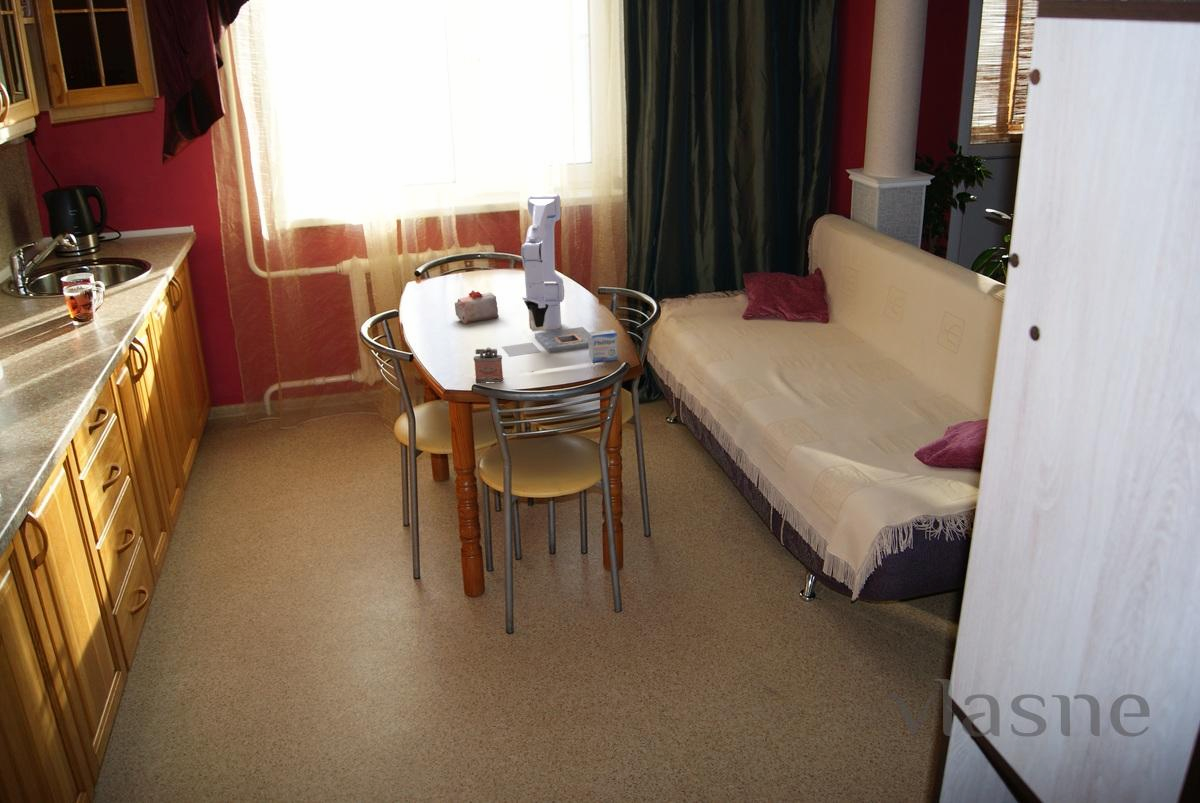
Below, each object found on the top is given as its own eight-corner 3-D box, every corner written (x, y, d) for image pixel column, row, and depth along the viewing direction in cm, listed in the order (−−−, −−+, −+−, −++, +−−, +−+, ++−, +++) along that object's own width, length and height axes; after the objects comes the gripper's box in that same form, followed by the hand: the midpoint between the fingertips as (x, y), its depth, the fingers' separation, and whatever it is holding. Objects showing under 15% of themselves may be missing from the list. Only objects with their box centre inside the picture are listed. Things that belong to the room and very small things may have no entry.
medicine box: (592, 363, 302) (591, 335, 298) (588, 359, 306) (587, 331, 302) (618, 360, 304) (617, 332, 300) (613, 355, 308) (612, 328, 304)
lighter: (504, 378, 292) (501, 345, 289) (503, 382, 289) (500, 349, 285) (476, 380, 292) (473, 347, 288) (475, 384, 289) (472, 351, 285)
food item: (463, 325, 342) (460, 297, 338) (454, 320, 348) (452, 292, 345) (500, 318, 348) (498, 291, 344) (491, 313, 354) (489, 285, 351)
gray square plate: (501, 349, 316) (501, 346, 316) (532, 345, 319) (532, 342, 319) (509, 359, 308) (509, 356, 307) (541, 354, 311) (541, 351, 310)
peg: (529, 327, 313) (528, 309, 311) (542, 326, 315) (541, 307, 312) (533, 331, 310) (531, 312, 308) (545, 329, 311) (544, 311, 309)
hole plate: (535, 340, 323) (534, 333, 323) (582, 334, 328) (582, 326, 327) (549, 356, 309) (548, 347, 308) (598, 348, 314) (598, 340, 313)
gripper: (516, 277, 312) (519, 319, 317) (528, 289, 299) (530, 332, 304) (538, 274, 314) (540, 316, 319) (551, 286, 301) (553, 329, 306)
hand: (537, 324), depth 312 cm, fingers closed on peg, 4 cm apart
